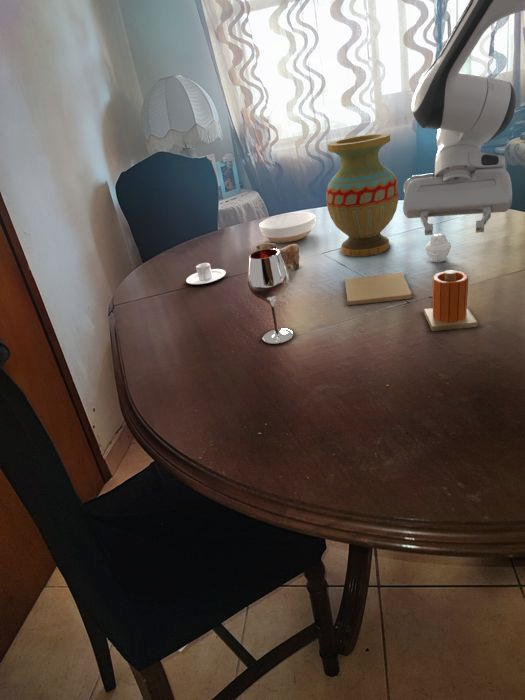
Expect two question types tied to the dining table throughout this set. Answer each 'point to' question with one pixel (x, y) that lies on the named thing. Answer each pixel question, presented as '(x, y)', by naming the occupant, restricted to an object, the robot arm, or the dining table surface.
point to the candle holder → (205, 274)
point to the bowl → (288, 226)
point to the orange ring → (450, 297)
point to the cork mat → (377, 288)
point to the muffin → (438, 248)
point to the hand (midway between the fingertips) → (453, 232)
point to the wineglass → (269, 287)
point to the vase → (362, 194)
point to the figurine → (285, 253)
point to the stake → (439, 325)
